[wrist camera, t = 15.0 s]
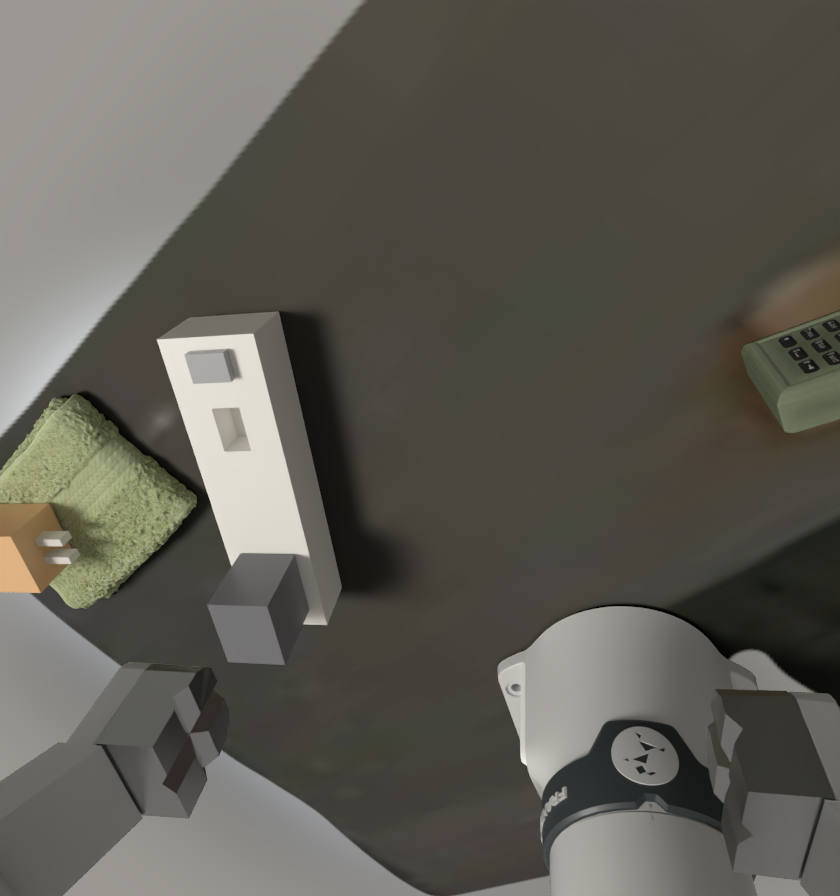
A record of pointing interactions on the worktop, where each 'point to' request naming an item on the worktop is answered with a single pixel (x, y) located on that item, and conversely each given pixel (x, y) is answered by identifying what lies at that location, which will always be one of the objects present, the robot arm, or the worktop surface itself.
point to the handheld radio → (799, 373)
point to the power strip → (253, 444)
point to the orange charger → (32, 547)
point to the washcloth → (95, 496)
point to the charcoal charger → (260, 608)
